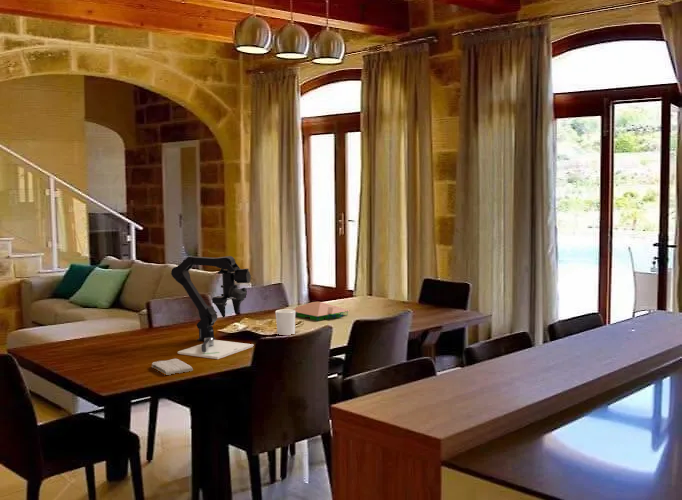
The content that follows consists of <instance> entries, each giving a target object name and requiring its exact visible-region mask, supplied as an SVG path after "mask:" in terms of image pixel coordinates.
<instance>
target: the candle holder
mask: <svg viewBox="0 0 682 500" xmlns="http://www.w3.org/2000/svg"><path fill="white" fill-rule="evenodd" d="M293 309H294V308H284V309H283V308H281V309H277V310H275V321H276V330H277V331H276V332H277V335H278V334H279V335H291V334H295V335H296V312H295V310H293Z"/></svg>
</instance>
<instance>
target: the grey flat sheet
mask: <svg viewBox="0 0 682 500" xmlns="http://www.w3.org/2000/svg"><path fill="white" fill-rule="evenodd" d="M202 344H203V343H201V344H197V345H194V346H191V347H188V348H184V349H181V350H179V351H177V354H179V355H185V356H192V357H198V358H199V357H200V358H207V359H215V360H219V359H223V358H225V357H228V356H232V355H233V354H236V353H239V352H242V351H245V350H247V349H251V348H254V347H255V346H254V344H253V343H251V344H250V343H246V342H245V343H243V342H237V341H236V342H235V341H228V340H219V339H213V346H210V347H208V349H207V351H206V352H202ZM253 346H254V347H253Z"/></svg>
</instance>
